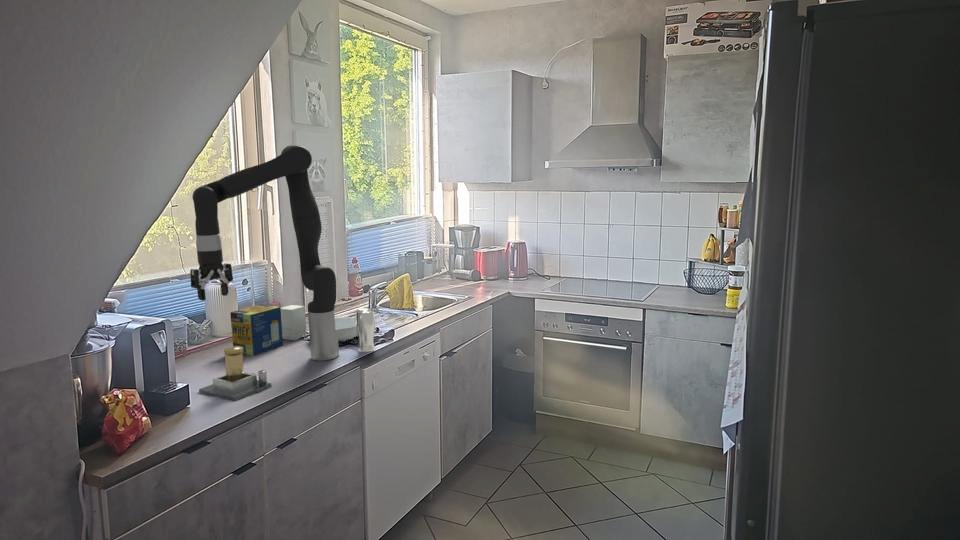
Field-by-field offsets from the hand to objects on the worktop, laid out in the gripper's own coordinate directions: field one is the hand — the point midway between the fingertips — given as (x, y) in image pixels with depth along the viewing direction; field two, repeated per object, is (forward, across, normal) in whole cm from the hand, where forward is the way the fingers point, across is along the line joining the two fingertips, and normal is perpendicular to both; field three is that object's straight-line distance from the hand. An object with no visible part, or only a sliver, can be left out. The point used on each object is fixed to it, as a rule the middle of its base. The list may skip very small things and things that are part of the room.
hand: (213, 297), depth 210 cm
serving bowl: (+26, +51, -6) cm, 58 cm away
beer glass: (+26, +44, -26) cm, 57 cm away
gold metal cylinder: (+25, -8, -17) cm, 31 cm away
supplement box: (+26, +45, +12) cm, 53 cm away
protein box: (+26, +27, +12) cm, 39 cm away
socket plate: (+26, -8, -17) cm, 32 cm away
